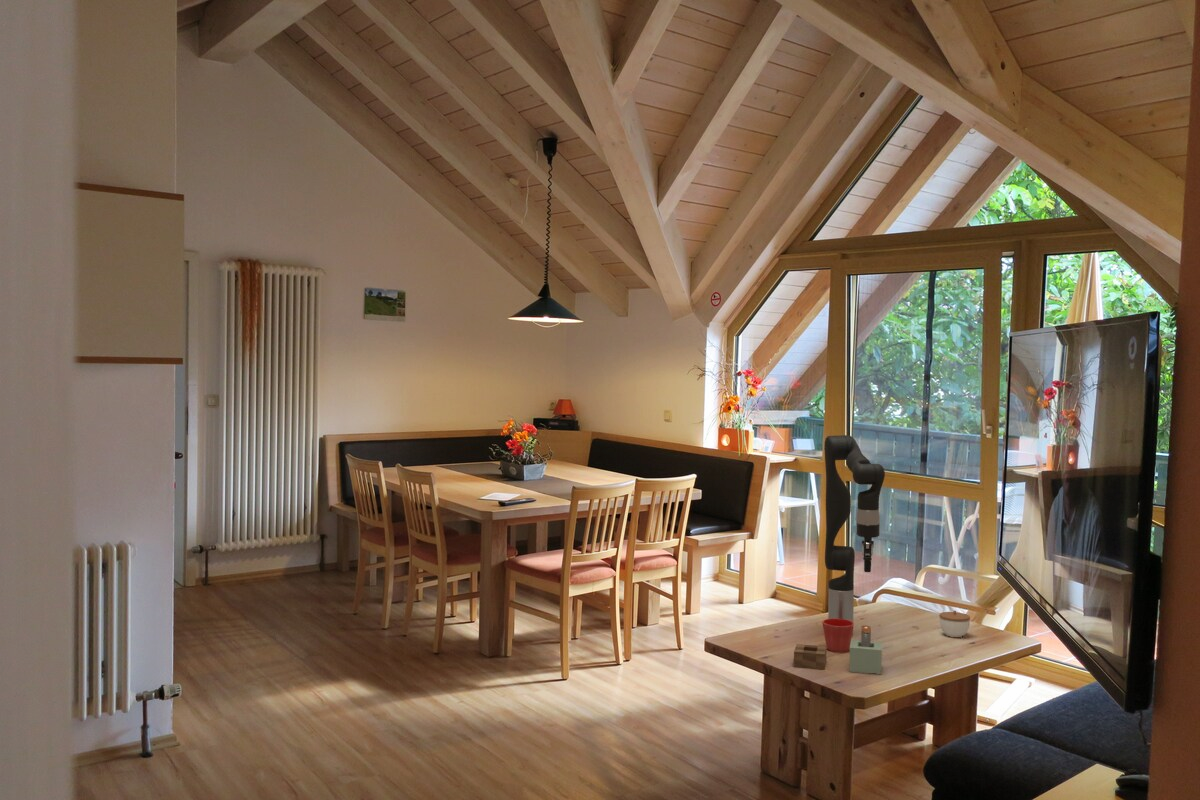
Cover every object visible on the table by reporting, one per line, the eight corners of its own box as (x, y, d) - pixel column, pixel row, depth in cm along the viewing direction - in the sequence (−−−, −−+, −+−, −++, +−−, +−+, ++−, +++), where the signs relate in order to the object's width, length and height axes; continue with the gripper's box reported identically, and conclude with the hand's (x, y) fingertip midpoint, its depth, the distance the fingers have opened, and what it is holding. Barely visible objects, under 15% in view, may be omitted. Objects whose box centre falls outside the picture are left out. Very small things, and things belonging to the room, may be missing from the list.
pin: (861, 666, 316) (861, 625, 316) (870, 667, 315) (870, 626, 315) (860, 669, 313) (861, 627, 313) (870, 670, 312) (870, 628, 312)
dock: (850, 663, 320) (850, 639, 320) (881, 665, 317) (881, 642, 317) (849, 671, 311) (849, 647, 310) (881, 674, 308) (881, 650, 308)
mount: (796, 658, 325) (796, 643, 325) (826, 660, 323) (826, 646, 322) (793, 666, 316) (793, 651, 316) (824, 669, 313) (824, 654, 313)
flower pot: (830, 654, 331) (830, 626, 330) (817, 645, 341) (817, 618, 341) (858, 652, 333) (859, 625, 332) (844, 644, 343) (845, 617, 343)
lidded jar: (950, 640, 349) (950, 615, 349) (933, 632, 360) (933, 608, 359) (975, 638, 352) (976, 613, 352) (958, 631, 362) (958, 606, 362)
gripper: (857, 518, 331) (856, 564, 331) (856, 525, 317) (855, 573, 318) (879, 519, 328) (879, 565, 329) (879, 526, 315) (879, 574, 316)
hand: (867, 569), depth 323 cm, fingers open, 8 cm apart
